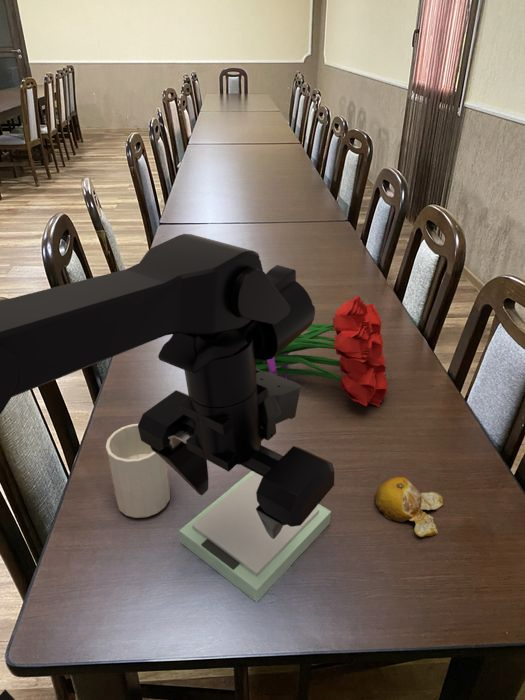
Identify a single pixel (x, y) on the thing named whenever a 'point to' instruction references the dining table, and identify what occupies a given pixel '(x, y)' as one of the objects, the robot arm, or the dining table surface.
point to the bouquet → (341, 353)
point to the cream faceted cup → (137, 474)
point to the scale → (248, 539)
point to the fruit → (408, 504)
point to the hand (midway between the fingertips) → (237, 512)
